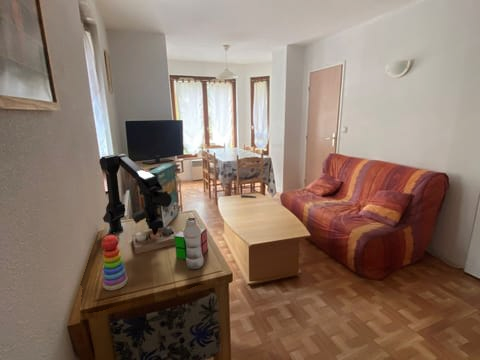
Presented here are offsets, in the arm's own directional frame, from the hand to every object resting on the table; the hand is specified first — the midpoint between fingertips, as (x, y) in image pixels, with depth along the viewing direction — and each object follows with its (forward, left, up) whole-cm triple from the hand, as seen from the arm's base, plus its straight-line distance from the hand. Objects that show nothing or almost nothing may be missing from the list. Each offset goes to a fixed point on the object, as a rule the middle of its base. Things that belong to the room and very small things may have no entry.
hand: (154, 234), depth 119 cm
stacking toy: (+25, -18, -4) cm, 31 cm away
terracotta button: (0, 0, -3) cm, 3 cm away
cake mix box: (-23, +10, -4) cm, 25 cm away
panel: (0, 0, -4) cm, 4 cm away
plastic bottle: (+29, +10, -4) cm, 31 cm away
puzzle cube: (+19, +12, -4) cm, 23 cm away
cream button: (0, -6, -1) cm, 6 cm away
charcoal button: (0, +6, -1) cm, 6 cm away
